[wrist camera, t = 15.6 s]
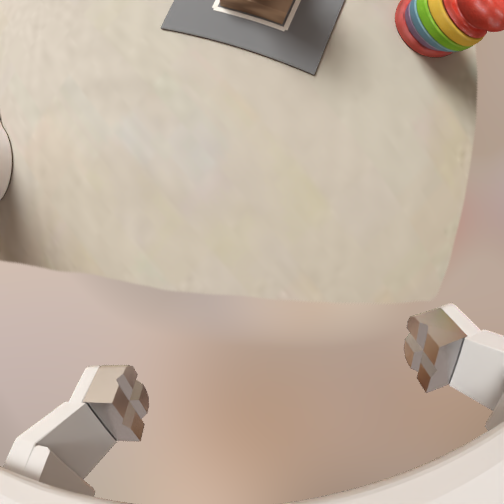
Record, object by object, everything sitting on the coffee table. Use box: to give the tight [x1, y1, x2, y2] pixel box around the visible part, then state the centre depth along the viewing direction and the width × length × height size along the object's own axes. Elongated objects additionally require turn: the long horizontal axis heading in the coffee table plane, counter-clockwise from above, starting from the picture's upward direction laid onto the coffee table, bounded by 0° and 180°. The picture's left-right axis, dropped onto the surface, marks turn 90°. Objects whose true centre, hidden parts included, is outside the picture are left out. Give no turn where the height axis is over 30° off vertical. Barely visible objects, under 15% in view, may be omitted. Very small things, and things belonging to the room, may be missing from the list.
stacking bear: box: [395, 0, 504, 57], centre depth 20 cm, size 11×10×18 cm
